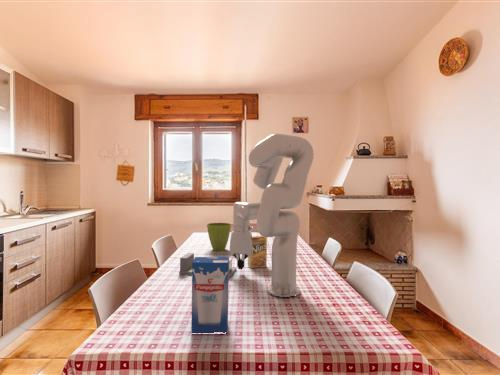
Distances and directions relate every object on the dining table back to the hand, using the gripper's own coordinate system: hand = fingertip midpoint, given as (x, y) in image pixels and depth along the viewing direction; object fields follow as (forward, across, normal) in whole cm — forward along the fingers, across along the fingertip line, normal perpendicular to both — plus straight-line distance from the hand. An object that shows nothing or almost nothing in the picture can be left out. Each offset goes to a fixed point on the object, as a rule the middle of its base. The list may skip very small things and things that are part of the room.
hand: (240, 268), depth 139 cm
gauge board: (+3, +15, 0) cm, 16 cm away
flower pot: (+3, +24, -47) cm, 52 cm away
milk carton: (+3, -2, +53) cm, 53 cm away
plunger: (+1, +10, 0) cm, 10 cm away
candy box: (+3, -6, -14) cm, 15 cm away
